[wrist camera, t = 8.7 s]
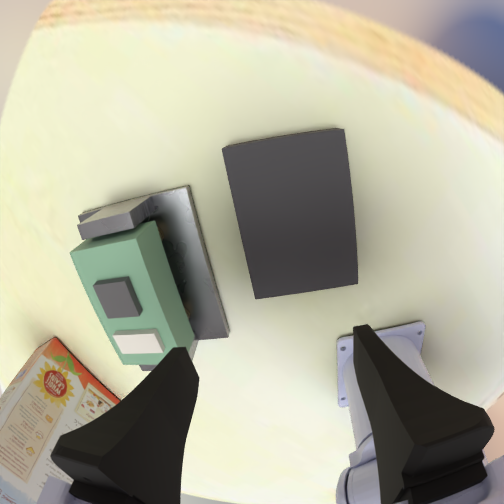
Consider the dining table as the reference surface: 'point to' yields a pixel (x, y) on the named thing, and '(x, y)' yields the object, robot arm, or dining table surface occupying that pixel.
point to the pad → (295, 211)
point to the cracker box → (44, 418)
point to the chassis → (171, 253)
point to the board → (134, 293)
